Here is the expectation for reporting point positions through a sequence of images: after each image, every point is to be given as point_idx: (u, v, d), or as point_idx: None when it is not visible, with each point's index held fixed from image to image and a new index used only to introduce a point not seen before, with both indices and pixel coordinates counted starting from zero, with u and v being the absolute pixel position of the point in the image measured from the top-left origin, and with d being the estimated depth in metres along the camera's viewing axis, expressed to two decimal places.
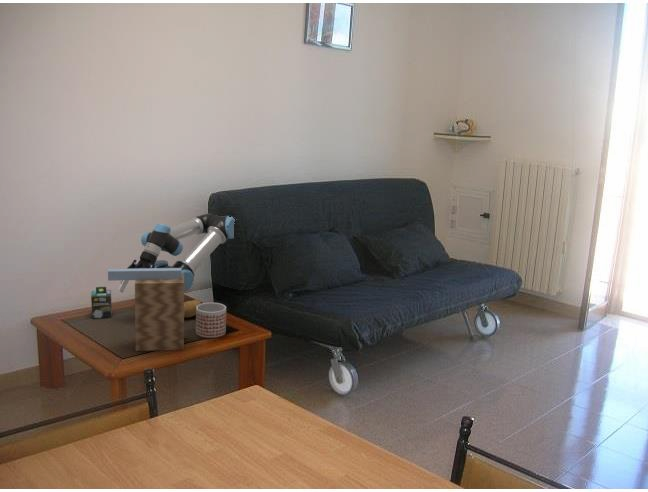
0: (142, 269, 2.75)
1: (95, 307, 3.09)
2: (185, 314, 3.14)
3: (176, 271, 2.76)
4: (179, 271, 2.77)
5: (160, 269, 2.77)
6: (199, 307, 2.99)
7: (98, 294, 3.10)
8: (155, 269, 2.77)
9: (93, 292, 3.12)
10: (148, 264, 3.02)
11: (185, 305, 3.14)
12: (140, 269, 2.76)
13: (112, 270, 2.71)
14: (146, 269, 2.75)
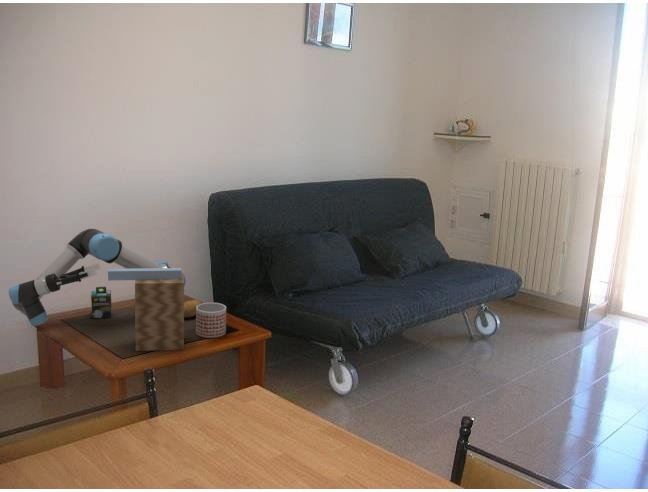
0: (142, 269, 2.75)
1: (95, 308, 3.09)
2: (185, 314, 3.14)
3: (176, 271, 2.76)
4: (179, 271, 2.76)
5: (160, 269, 2.77)
6: (199, 307, 2.99)
7: (98, 294, 3.10)
8: (155, 268, 2.77)
9: (93, 292, 3.12)
10: None
11: (185, 305, 3.14)
12: (140, 268, 2.76)
13: (112, 270, 2.71)
14: (146, 269, 2.75)
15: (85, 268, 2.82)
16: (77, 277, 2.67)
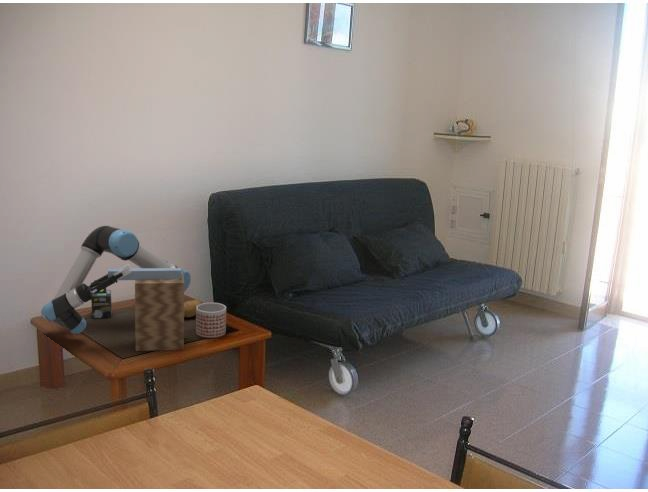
0: (142, 269, 2.75)
1: (95, 308, 3.09)
2: (185, 314, 3.14)
3: (176, 271, 2.76)
4: (179, 271, 2.76)
5: (160, 269, 2.77)
6: (199, 307, 2.99)
7: (98, 294, 3.10)
8: (155, 268, 2.77)
9: None
10: None
11: (185, 305, 3.14)
12: (140, 268, 2.76)
13: (112, 270, 2.71)
14: (146, 269, 2.75)
15: None
16: (113, 279, 2.68)
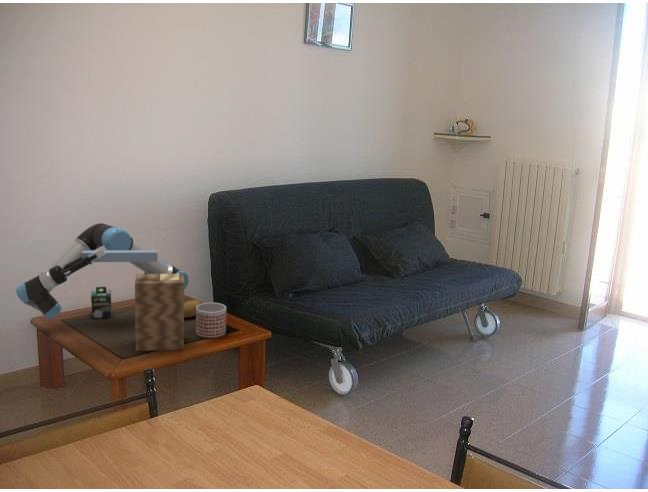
0: (117, 251, 2.71)
1: (95, 308, 3.09)
2: (185, 314, 3.14)
3: (151, 253, 2.72)
4: (155, 253, 2.72)
5: (136, 251, 2.73)
6: (199, 307, 2.99)
7: (98, 294, 3.10)
8: (130, 251, 2.73)
9: (93, 292, 3.12)
10: None
11: (185, 305, 3.14)
12: (115, 250, 2.71)
13: (86, 252, 2.67)
14: (121, 251, 2.71)
15: None
16: (87, 260, 2.64)
